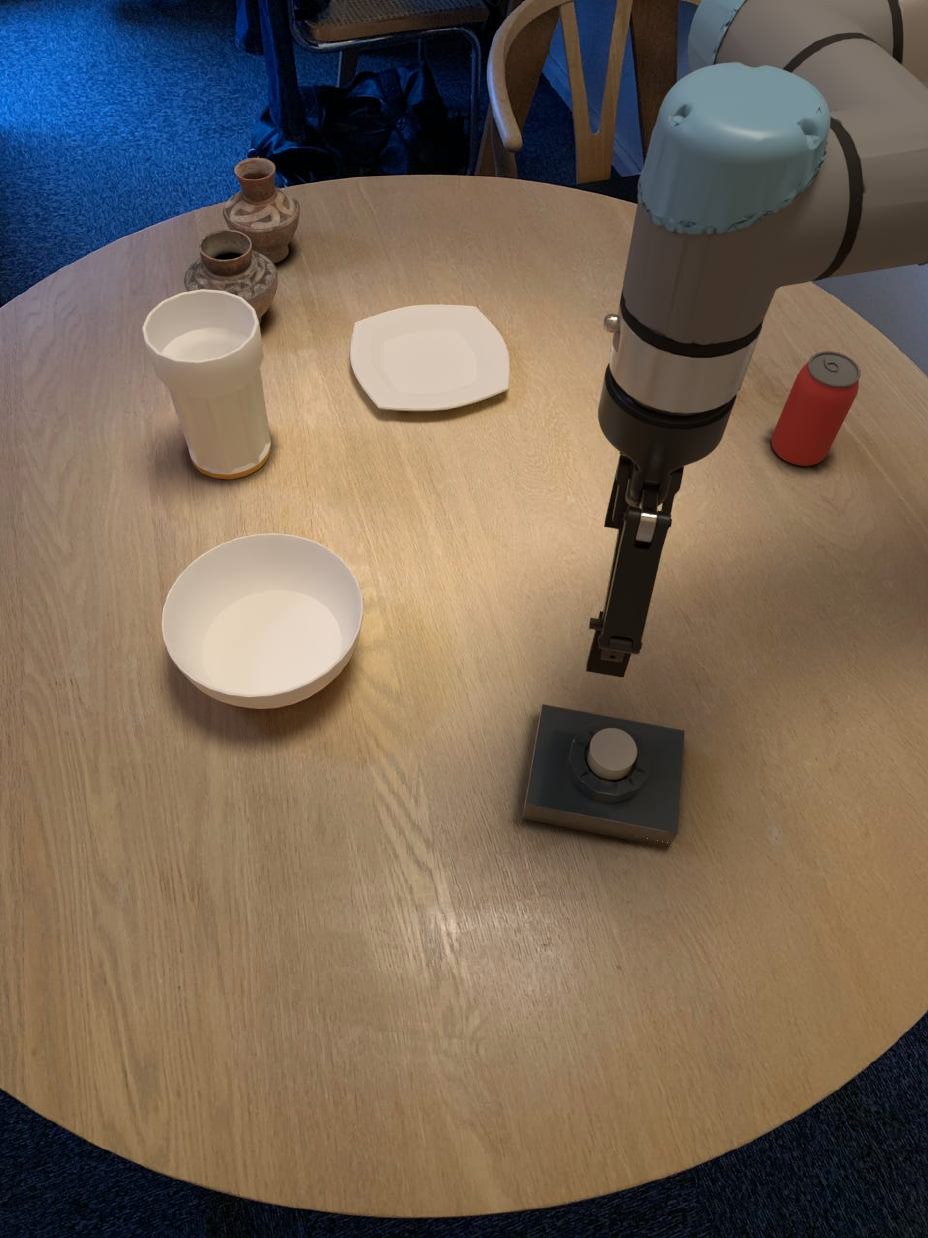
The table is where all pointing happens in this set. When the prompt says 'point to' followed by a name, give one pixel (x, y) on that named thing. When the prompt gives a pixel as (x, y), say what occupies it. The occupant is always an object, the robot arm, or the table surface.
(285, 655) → the bowl
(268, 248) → the pottery
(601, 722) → the beige button cap base
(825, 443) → the beer can
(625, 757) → the beige button cap
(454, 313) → the plate
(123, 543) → the table surface
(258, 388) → the cup
